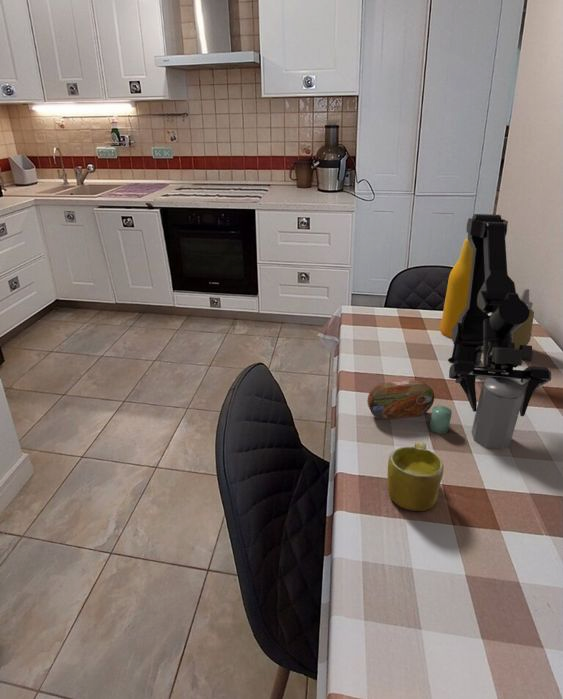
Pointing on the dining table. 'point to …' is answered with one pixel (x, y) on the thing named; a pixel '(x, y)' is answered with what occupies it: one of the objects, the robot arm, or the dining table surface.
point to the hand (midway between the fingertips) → (498, 413)
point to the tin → (400, 399)
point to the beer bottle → (457, 290)
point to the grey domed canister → (497, 412)
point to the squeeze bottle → (524, 324)
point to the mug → (414, 477)
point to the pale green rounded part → (440, 419)
